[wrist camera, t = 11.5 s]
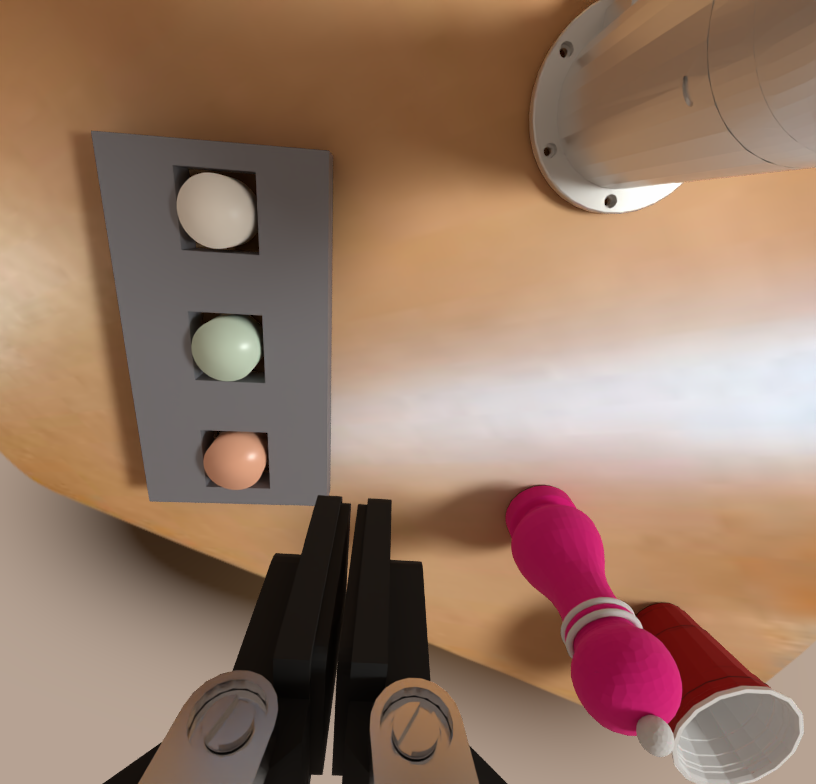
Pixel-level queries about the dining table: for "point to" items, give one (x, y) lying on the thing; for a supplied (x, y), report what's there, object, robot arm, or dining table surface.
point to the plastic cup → (721, 707)
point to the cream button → (217, 210)
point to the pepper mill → (595, 620)
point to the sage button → (228, 346)
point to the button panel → (223, 293)
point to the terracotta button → (237, 459)
